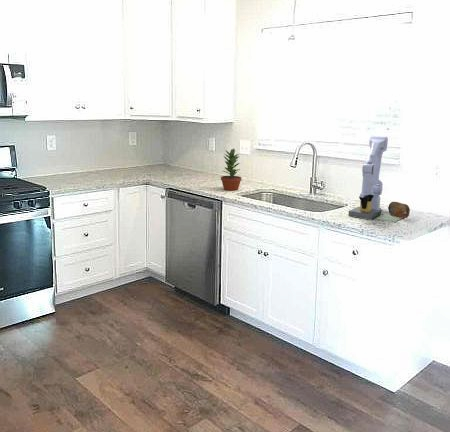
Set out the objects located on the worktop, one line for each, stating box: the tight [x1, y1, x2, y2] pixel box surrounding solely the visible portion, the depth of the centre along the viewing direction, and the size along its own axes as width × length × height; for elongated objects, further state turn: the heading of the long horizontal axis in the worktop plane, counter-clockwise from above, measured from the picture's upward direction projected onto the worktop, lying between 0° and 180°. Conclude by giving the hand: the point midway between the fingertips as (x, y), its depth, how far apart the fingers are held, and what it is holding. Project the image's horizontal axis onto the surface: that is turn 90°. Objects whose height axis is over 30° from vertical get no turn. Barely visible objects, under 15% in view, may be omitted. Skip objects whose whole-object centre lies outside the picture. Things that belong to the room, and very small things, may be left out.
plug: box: [359, 201, 371, 212], centre depth 296 cm, size 4×5×8 cm
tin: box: [387, 201, 411, 220], centre depth 295 cm, size 15×3×8 cm, turn 24°
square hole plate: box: [348, 206, 382, 221], centre depth 297 cm, size 14×14×3 cm
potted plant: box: [220, 147, 242, 192], centre depth 362 cm, size 15×15×30 cm
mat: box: [375, 214, 402, 223], centre depth 290 cm, size 11×11×1 cm
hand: (365, 207), depth 296 cm, fingers closed on plug, 4 cm apart
